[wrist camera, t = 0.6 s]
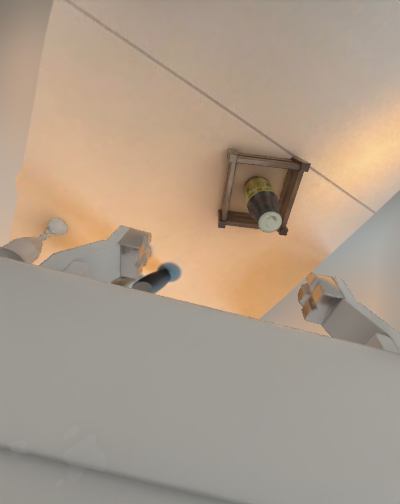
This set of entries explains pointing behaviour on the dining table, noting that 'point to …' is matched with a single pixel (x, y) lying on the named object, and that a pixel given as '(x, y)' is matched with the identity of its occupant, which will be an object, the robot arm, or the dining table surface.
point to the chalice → (31, 243)
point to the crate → (287, 196)
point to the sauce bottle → (263, 204)
